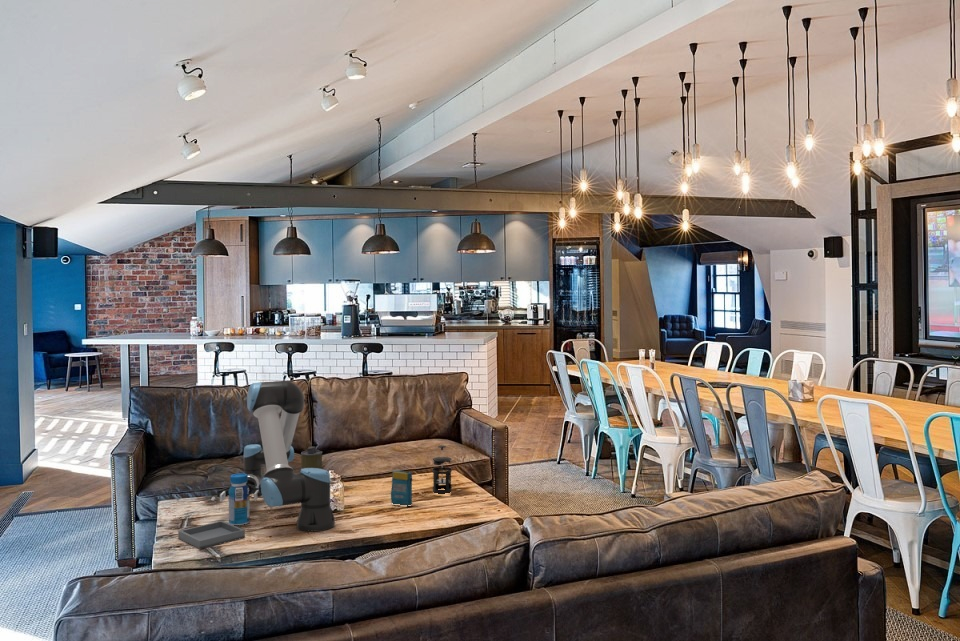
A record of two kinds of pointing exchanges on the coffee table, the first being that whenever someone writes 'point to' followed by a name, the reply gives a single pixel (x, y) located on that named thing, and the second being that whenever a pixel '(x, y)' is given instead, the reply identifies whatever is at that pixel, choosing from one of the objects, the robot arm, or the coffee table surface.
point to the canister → (311, 458)
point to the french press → (436, 475)
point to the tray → (211, 534)
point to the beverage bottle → (239, 500)
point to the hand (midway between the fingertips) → (237, 497)
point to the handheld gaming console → (401, 488)
